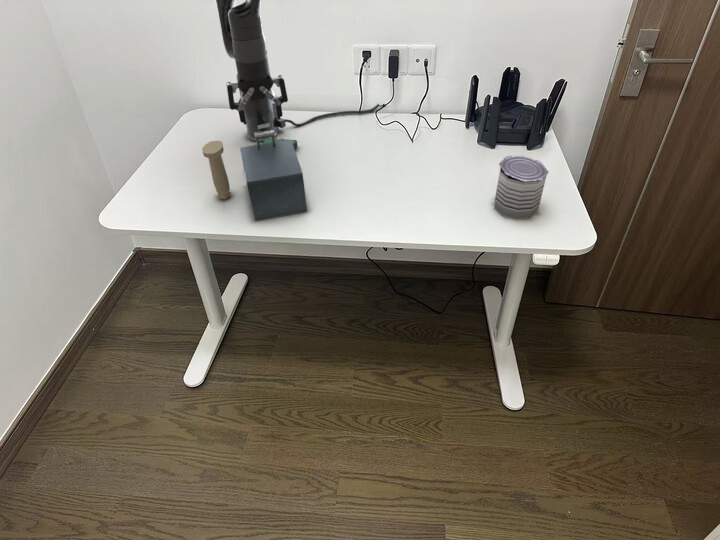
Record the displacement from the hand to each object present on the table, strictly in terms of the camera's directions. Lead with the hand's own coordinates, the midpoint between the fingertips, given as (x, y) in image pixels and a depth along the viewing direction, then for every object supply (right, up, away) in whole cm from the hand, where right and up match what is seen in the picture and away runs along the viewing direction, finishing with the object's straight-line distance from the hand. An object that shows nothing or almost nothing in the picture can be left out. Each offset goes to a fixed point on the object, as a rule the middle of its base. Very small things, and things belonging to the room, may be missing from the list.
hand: (261, 120), depth 133 cm
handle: (-12, -18, +10) cm, 24 cm away
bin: (+3, -19, +8) cm, 20 cm away
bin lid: (+2, -10, +1) cm, 11 cm away
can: (+65, -22, +2) cm, 68 cm away
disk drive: (-1, -5, +24) cm, 24 cm away
